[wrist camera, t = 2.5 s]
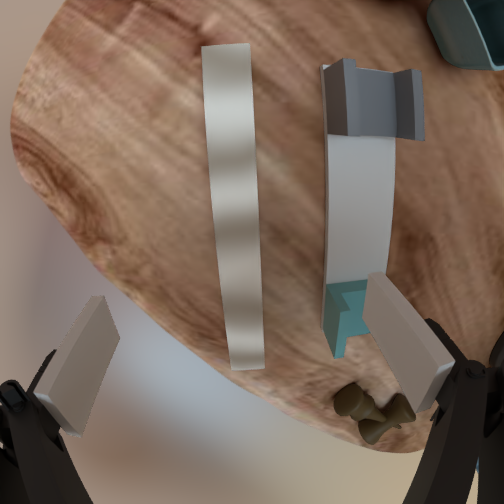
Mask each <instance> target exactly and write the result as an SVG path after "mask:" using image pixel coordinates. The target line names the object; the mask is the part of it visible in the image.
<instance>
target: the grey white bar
mask: <svg viewBox="0 0 504 504" xmlns="http://www.w3.org/2000/svg"><path fill="white" fill-rule="evenodd" d="M202 70H203V90H204V107H205V123H206V138H207V151H208V164H209V177H210V188H211V199H212V210H213V221H214V231H215V241H216V250H217V259H218V268H219V277H220V286H221V294H222V302H223V311H224V318H225V326H226V334H227V341H228V349H229V356H230V363H231V370H232V371H236V370H252V369H265V363H264V335H263V308H262V282H261V258H260V234H259V212H258V190H257V169H256V149H255V129H254V110H253V91H252V73H251V55H250V43H244V44H226V45H214V46H204V47H202Z"/></svg>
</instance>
